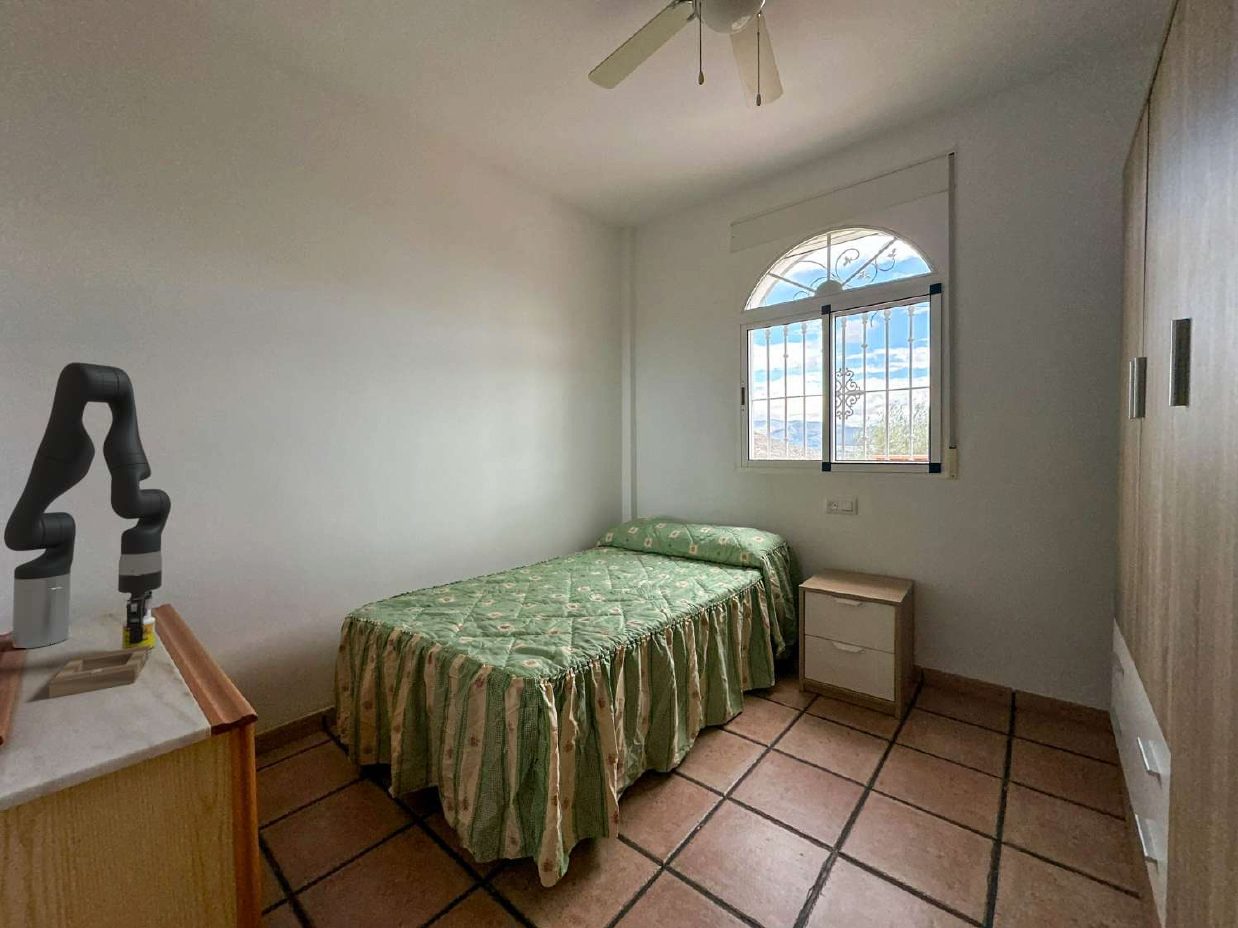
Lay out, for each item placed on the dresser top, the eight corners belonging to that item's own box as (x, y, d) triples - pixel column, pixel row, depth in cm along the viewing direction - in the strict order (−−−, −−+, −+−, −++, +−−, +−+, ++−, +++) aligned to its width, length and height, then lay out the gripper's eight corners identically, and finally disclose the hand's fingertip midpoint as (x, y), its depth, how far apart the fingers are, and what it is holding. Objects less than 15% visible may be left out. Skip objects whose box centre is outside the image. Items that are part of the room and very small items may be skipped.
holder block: (74, 669, 107) (74, 654, 107) (148, 657, 114) (149, 643, 114) (49, 698, 94) (49, 681, 94) (134, 682, 101) (134, 667, 101)
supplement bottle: (118, 659, 113) (119, 616, 113) (126, 651, 118) (127, 610, 118) (150, 654, 116) (152, 612, 116) (156, 647, 121) (158, 606, 121)
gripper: (125, 566, 120) (123, 633, 120) (111, 578, 109) (109, 651, 109) (166, 563, 125) (164, 627, 125) (156, 574, 113) (154, 645, 113)
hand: (138, 638), depth 117 cm, fingers closed on supplement bottle, 5 cm apart
